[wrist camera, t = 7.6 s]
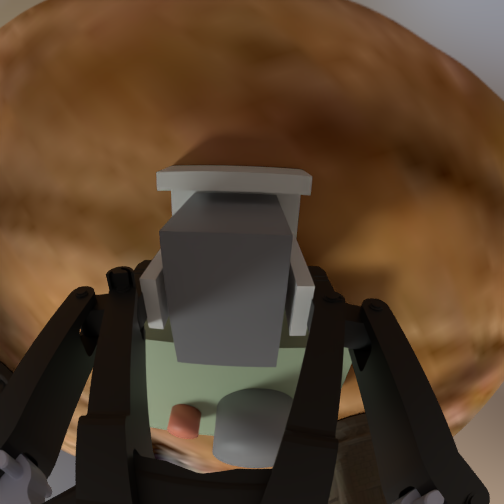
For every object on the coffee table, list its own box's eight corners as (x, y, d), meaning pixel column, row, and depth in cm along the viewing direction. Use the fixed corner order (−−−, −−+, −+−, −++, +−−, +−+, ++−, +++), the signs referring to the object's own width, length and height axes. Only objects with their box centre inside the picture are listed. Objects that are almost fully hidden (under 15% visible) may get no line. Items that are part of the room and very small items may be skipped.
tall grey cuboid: (198, 290, 19) (177, 362, 13) (194, 192, 16) (159, 231, 10) (268, 293, 19) (276, 367, 13) (276, 195, 16) (292, 235, 10)
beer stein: (309, 455, 32) (333, 561, 14) (301, 427, 28) (332, 568, 9) (401, 422, 32) (443, 517, 13) (413, 387, 27) (474, 504, 9)
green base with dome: (156, 388, 25) (136, 460, 16) (116, 168, 16) (22, 204, 8) (311, 395, 25) (324, 470, 17) (361, 175, 16) (448, 218, 8)
